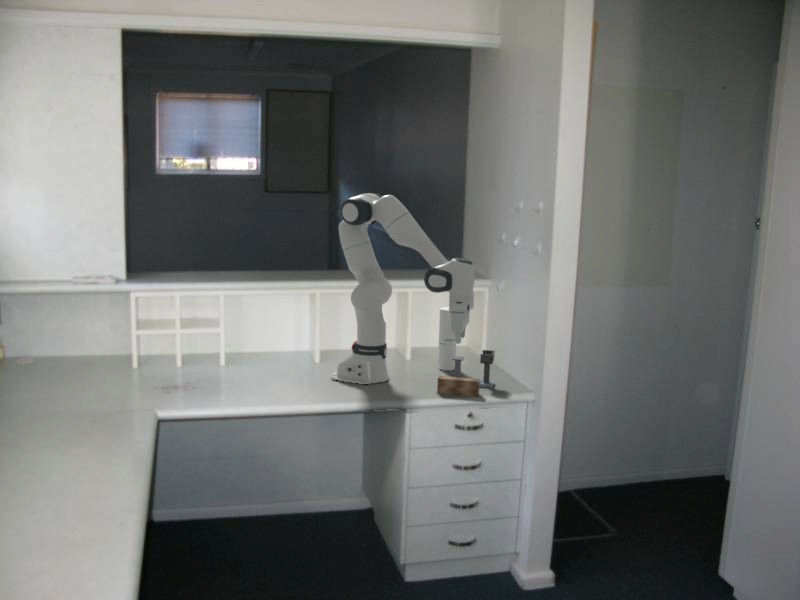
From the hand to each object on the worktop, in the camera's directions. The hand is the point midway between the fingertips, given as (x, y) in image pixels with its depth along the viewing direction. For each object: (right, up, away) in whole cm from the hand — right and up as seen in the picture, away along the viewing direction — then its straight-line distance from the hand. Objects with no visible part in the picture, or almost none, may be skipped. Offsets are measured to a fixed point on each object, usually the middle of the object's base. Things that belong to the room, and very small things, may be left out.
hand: (460, 340), depth 291 cm
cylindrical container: (-3, -14, +39) cm, 41 cm away
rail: (0, -20, +4) cm, 21 cm away
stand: (+5, -18, +17) cm, 25 cm away
